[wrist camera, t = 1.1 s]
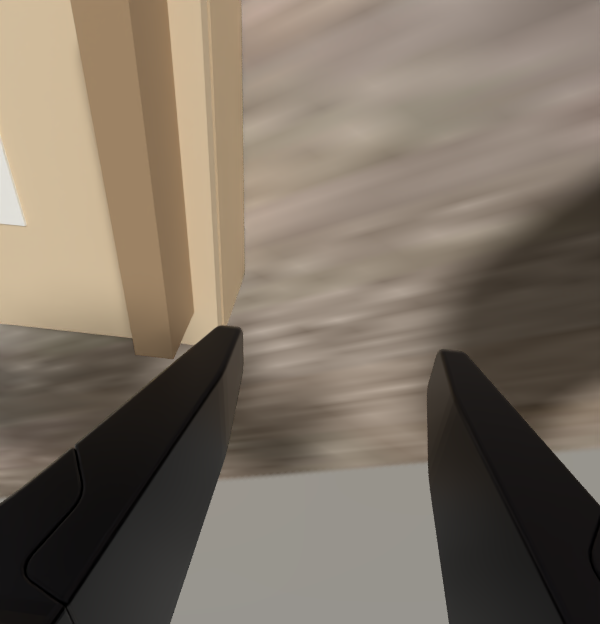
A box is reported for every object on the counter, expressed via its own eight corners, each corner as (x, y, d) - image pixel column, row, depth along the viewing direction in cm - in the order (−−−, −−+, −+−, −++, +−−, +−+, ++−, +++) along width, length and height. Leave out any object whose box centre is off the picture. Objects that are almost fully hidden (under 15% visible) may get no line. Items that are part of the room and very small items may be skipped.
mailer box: (239, -109, 15) (204, -117, 12) (244, 274, 23) (224, 332, 20) (-224, -140, 16) (-375, -154, 12) (-64, 242, 23) (-132, 293, 20)
